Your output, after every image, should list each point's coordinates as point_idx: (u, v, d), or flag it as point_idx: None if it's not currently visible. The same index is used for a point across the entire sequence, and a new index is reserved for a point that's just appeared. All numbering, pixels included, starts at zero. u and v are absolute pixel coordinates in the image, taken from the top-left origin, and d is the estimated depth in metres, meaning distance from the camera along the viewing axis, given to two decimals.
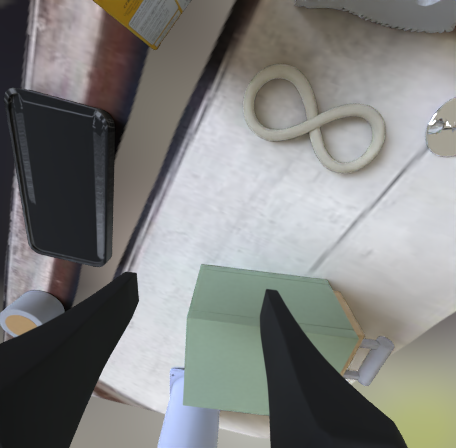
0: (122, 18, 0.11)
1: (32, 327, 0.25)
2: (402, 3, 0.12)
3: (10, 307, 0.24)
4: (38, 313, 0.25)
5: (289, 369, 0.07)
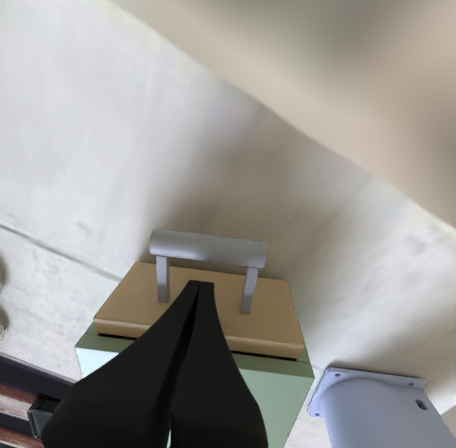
0: None
1: None
2: None
3: None
4: None
5: (187, 357, 0.07)
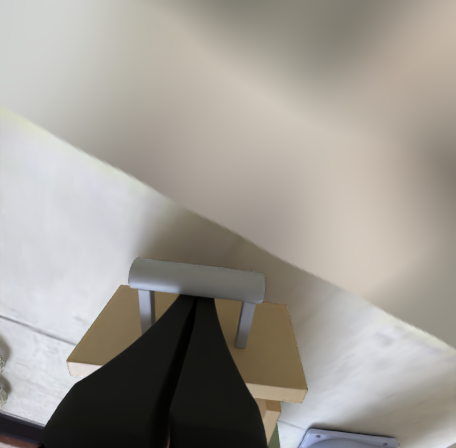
0: None
1: None
2: None
3: None
4: None
5: (186, 357, 0.07)
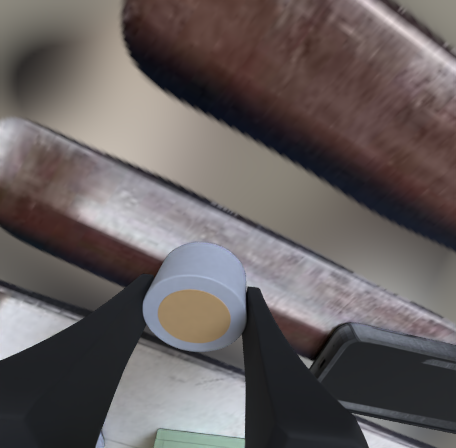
0: None
1: (195, 335, 0.11)
2: None
3: (245, 305, 0.11)
4: None
5: (260, 365, 0.07)
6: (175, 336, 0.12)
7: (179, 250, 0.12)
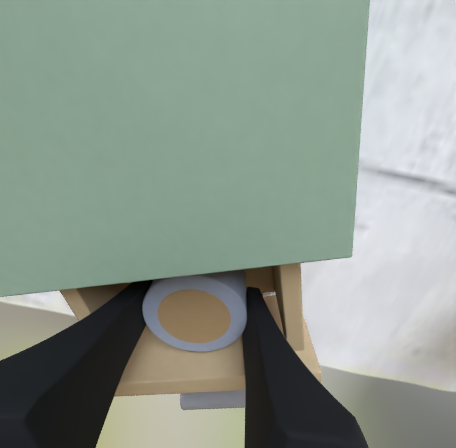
0: None
1: (195, 335, 0.11)
2: None
3: (246, 305, 0.11)
4: None
5: (260, 366, 0.07)
6: (175, 336, 0.12)
7: None
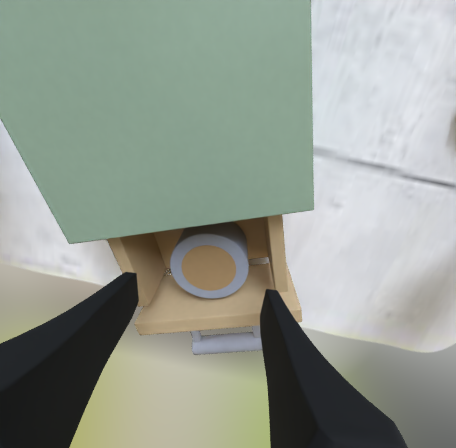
0: None
1: (209, 284, 0.15)
2: None
3: (247, 259, 0.14)
4: None
5: (289, 369, 0.07)
6: (193, 285, 0.15)
7: None
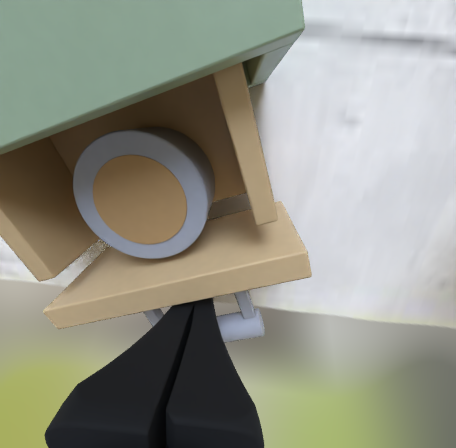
0: None
1: (148, 232, 0.09)
2: None
3: (203, 178, 0.08)
4: None
5: (184, 356, 0.07)
6: (125, 237, 0.09)
7: None
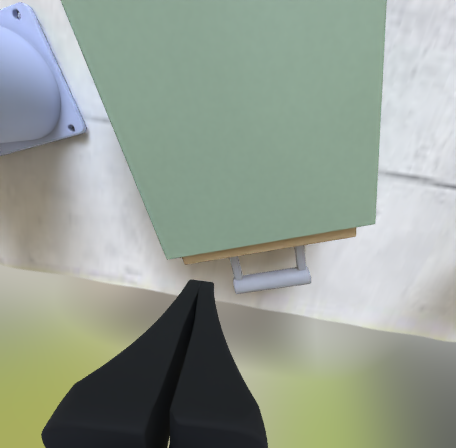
0: None
1: None
2: None
3: None
4: None
5: (187, 357, 0.07)
6: None
7: None
